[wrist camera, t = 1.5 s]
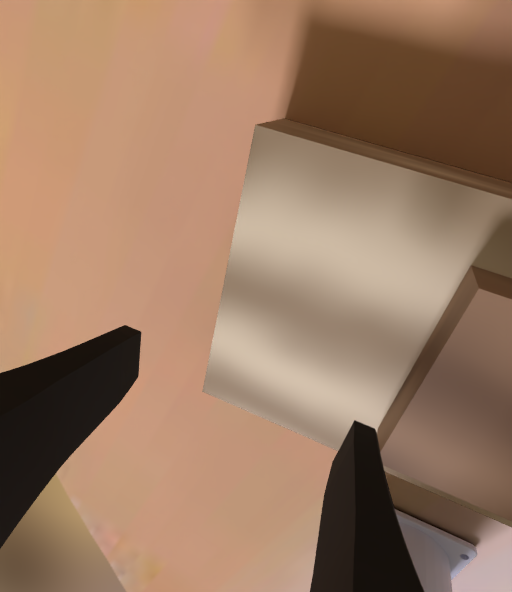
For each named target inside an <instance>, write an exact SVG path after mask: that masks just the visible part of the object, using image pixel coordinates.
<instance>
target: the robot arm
mask: <svg viewBox="0 0 512 592" xmlns="http://www.w3.org/2000/svg"><path fill="white" fill-rule="evenodd" d="M140 342H141V332H140V331H138V330H135V329H133V328H131V327H128V326H126V325H124V326H122V327H119V328H117V329H115V330H112V331H110V332H108V333H105V334H103V335H101V336H98V337H96V338H94V339H91V340H89V341H87V342H84V343H82V344H80V345H77V346H75V347H72V348H70V349H67V350H65V351H63V352H60V353H57V354H55V355H52V356H49V357H47V358H44V359H41V360H38V361H36V362H33V363H30V364H28V365H25V366H22V367H19V368H15V369H12V370H9V371H6V372H2V373H0V548H1V547H2V546H3V544H4V543H5V541H6V540H7V538H8V537H9V536H10V534H11V532H12V531H13V530H14V528H15V527H16V526H17V524H18V523H19V521H20V520H21V519H22V517H23V516H24V515H25V513H26V512H27V510H28V509H29V508H30V506H31V505H32V504H33V502H34V501H35V500H36V498H37V497H38V496H39V494H40V493H41V492H42V490H43V489H44V488H45V486H46V485H47V484H48V483H49V481H50V480H51V478H52V477H53V476H54V475H55V474H56V472H57V471H58V470H59V468H60V467H61V466H62V465H63V464H64V462H65V461H66V460H67V459H68V458H69V457H70V455H71V454H72V453H73V452H74V451H75V450H76V449H77V448H78V447H79V446H80V445H81V444H82V443H83V441H84V440H85V439H86V438H87V437H88V436H89V435H90V434H91V433H92V432H93V431H94V430H95V429H96V428H97V427H98V425H99V424H100V423H101V422H102V421H103V420H104V419H105V418H106V417H107V416H108V415H109V414H110V413H111V411H112V410H113V409H114V408H115V407H116V406H117V405H118V404H119V403H120V401H121V400H122V399H123V397H124V396H125V395H126V393H127V392H128V391H129V389H130V388H131V386H132V385H133V384H134V382H135V381H136V379H137V378H138V373H139V358H140ZM476 556H477V550H476V547H475V546H474V545H472V544H471V543H469V542H466V541H464V540H462V539H460V538H458V537H455V536H453V535H451V534H449V533H447V532H444V531H442V530H440V529H438V528H436V527H433V526H431V525H429V524H427V523H425V522H422V521H420V520H418V519H416V518H414V517H411V516H409V515H407V514H405V513H403V512H400V511H398V510H396V509H394V505H393V502H392V498H391V494H390V491H389V487H388V483H387V479H386V475H385V471H384V467H383V462H382V458H381V453H380V448H379V442H378V437H377V432H376V430H375V428H372V427H370V426H368V425H365V424H363V423H360V422H358V421H356V420H354V422H353V424H352V426H351V428H350V430H349V432H348V434H347V435H346V437H345V439H344V441H343V443H342V445H341V447H340V449H339V451H338V453H337V455H336V456H335V458H334V460H333V463H332V467H331V470H330V474H329V478H328V482H327V486H326V490H325V494H324V501H323V507H322V514H321V521H320V529H319V536H318V543H317V550H316V557H315V564H314V572H313V578H312V583H311V589H310V592H452V584H451V580H452V579H453V578H454V577H455V576H456V575H457V574H458V573H459V572H460V571H461V570H462V569H463V568H464V567H465V566H466V565H467V564H469V563H470V562H471V561H472V560H473V559H474V558H475V557H476Z"/></svg>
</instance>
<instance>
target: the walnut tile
mask: <svg viewBox="0 0 512 592" xmlns="http://www.w3.org/2000/svg"><path fill="white" fill-rule="evenodd" d="M377 437H378V442H379V448H380V453H381V458H382V462H383V466H386V467H388V468H390V469H392V470H395V471H397V472H399V473H402V474H404V475H406V476H409V477H411V478H413V479H415V480H418V481H420V482H422V483H425V484H427V485H429V486H431V487H434V488H436V489H438V490H441V491H443V492H445V493H447V494H450V495H452V496H454V497H457V498H459V499H461V500H464V501H466V502H468V503H470V504H473V505H475V506H477V507H480V508H482V509H484V510H486V511H489V512H491V513H493V514H496V515H498V516H500V517H503V518H505V519H507V520H509V521H512V278H509V277H506V276H503V275H500V274H497V273H494V272H491V271H488V270H484V269H481V268H478V267H475V266H472V265H471V266H470V267H469V269H468V271H467V273H466V274H465V276H464V278H463V280H462V281H461V283H460V285H459V287H458V288H457V290H456V292H455V294H454V296H453V297H452V299H451V301H450V303H449V304H448V306H447V308H446V310H445V311H444V313H443V315H442V317H441V318H440V320H439V322H438V324H437V325H436V327H435V329H434V331H433V332H432V334H431V336H430V338H429V339H428V341H427V343H426V345H425V346H424V348H423V350H422V352H421V353H420V355H419V357H418V359H417V360H416V362H415V364H414V366H413V368H412V369H411V371H410V373H409V375H408V376H407V378H406V380H405V382H404V383H403V385H402V387H401V389H400V390H399V392H398V394H397V396H396V397H395V399H394V401H393V403H392V404H391V406H390V408H389V410H388V411H387V413H386V415H385V417H384V418H383V420H382V422H381V424H380V425H379V427H378V431H377Z"/></svg>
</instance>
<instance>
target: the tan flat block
mask: <svg viewBox="0 0 512 592" xmlns="http://www.w3.org/2000/svg"><path fill="white" fill-rule="evenodd" d="M471 265H472V266H475V267H478V268H481V269H484V270H488V271H491V272H494V273H497V274H500V275H503V276H506V277H509V278H512V183H510V182H507V181H503V180H500V179H496V178H493V177H489V176H486V175H482V174H478V173H475V172H471V171H468V170H464V169H461V168H457V167H454V166H450V165H447V164H443V163H440V162H436V161H433V160H429V159H425V158H422V157H418V156H415V155H411V154H408V153H404V152H401V151H397V150H394V149H390V148H387V147H383V146H380V145H376V144H372V143H369V142H365V141H362V140H358V139H355V138H351V137H348V136H344V135H341V134H337V133H334V132H330V131H327V130H323V129H320V128H316V127H312V126H309V125H305V124H302V123H298V122H295V121H291V120H288V119H281V120H276V121H271V122H266V123H262V124H257V125H255V129H254V134H253V139H252V144H251V149H250V154H249V159H248V165H247V170H246V175H245V180H244V185H243V190H242V195H241V200H240V205H239V210H238V215H237V220H236V225H235V230H234V235H233V240H232V245H231V250H230V255H229V260H228V265H227V270H226V275H225V280H224V285H223V291H222V296H221V301H220V306H219V311H218V316H217V321H216V326H215V331H214V336H213V341H212V346H211V351H210V356H209V361H208V366H207V371H206V376H205V381H204V386H203V391H202V392H205V393H207V394H209V395H211V396H214V397H216V398H218V399H221V400H223V401H225V402H227V403H230V404H232V405H234V406H237V407H239V408H241V409H243V410H246V411H248V412H250V413H253V414H255V415H257V416H259V417H262V418H264V419H266V420H268V421H271V422H273V423H275V424H278V425H280V426H282V427H284V428H287V429H289V430H291V431H294V432H296V433H298V434H300V435H303V436H305V437H307V438H309V439H312V440H314V441H316V442H319V443H321V444H323V445H325V446H328V447H330V448H332V449H335V450H337V451H339V449H340V447H341V445H342V443H343V441H344V439H345V437H346V435H347V434H348V432H349V430H350V428H351V426H352V424H353V422H354V420H356V421H358V422H360V423H363V424H365V425H368V426H370V427H372V428H375V430H376V432H377V431H378V427H379V425H380V424H381V422H382V420H383V418H384V417H385V415H386V413H387V411H388V410H389V408H390V406H391V404H392V403H393V401H394V399H395V397H396V396H397V394H398V392H399V390H400V389H401V387H402V385H403V383H404V382H405V380H406V378H407V376H408V375H409V373H410V371H411V369H412V368H413V366H414V364H415V362H416V360H417V359H418V357H419V355H420V353H421V352H422V350H423V348H424V346H425V345H426V343H427V341H428V339H429V338H430V336H431V334H432V332H433V331H434V329H435V327H436V325H437V324H438V322H439V320H440V318H441V317H442V315H443V313H444V311H445V310H446V308H447V306H448V304H449V303H450V301H451V299H452V297H453V296H454V294H455V292H456V290H457V288H458V287H459V285H460V283H461V281H462V280H463V278H464V276H465V274H466V273H467V271H468V269H469V267H470V266H471ZM383 467H384V471H385V472H387V473H389V474H392V475H394V476H396V477H398V478H401V479H403V480H405V481H407V482H410V483H412V484H414V485H417V486H419V487H421V488H423V489H426V490H428V491H430V492H433V493H435V494H437V495H439V496H442V497H444V498H446V499H449V500H451V501H453V502H455V503H458V504H460V505H462V506H464V507H467V508H469V509H471V510H474V511H476V512H478V513H480V514H483V515H485V516H487V517H490V518H492V519H494V520H496V521H499V522H501V523H503V524H505V525H508V526H510V527H512V521H509V520H507V519H505V518H503V517H500V516H498V515H496V514H493V513H491V512H489V511H486V510H484V509H482V508H480V507H477V506H475V505H473V504H470V503H468V502H466V501H464V500H461V499H459V498H457V497H454V496H452V495H450V494H447V493H445V492H443V491H441V490H438V489H436V488H434V487H431V486H429V485H427V484H425V483H422V482H420V481H418V480H415V479H413V478H411V477H409V476H406V475H404V474H402V473H399V472H397V471H395V470H392V469H390V468H388V467H386V466H383Z"/></svg>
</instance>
